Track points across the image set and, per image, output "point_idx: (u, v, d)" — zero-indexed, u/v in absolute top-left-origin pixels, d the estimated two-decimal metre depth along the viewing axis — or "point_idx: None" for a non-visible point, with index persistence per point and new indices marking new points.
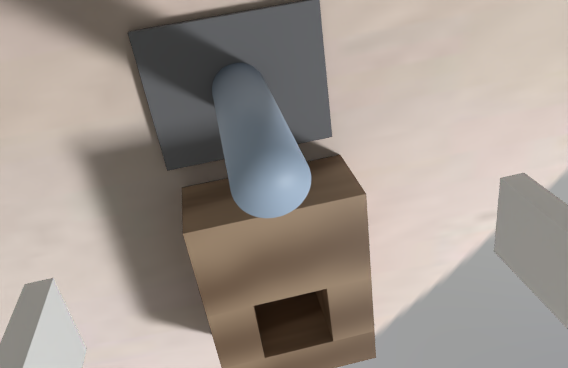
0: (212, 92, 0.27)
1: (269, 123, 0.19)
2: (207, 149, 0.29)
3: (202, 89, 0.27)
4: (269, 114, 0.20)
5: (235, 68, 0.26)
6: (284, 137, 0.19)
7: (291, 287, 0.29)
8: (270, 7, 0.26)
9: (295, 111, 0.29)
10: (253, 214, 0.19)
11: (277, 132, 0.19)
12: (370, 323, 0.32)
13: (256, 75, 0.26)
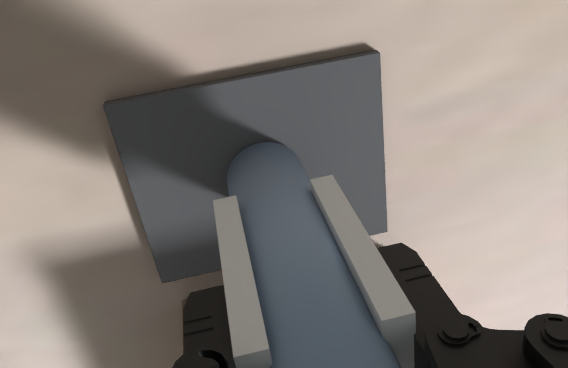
0: (227, 184, 0.19)
1: (336, 298, 0.11)
2: (217, 254, 0.21)
3: (211, 178, 0.19)
4: (330, 269, 0.12)
5: (261, 153, 0.18)
6: (368, 338, 0.10)
7: None
8: (310, 65, 0.18)
9: None
10: None
11: (353, 324, 0.10)
12: None
13: (293, 166, 0.17)
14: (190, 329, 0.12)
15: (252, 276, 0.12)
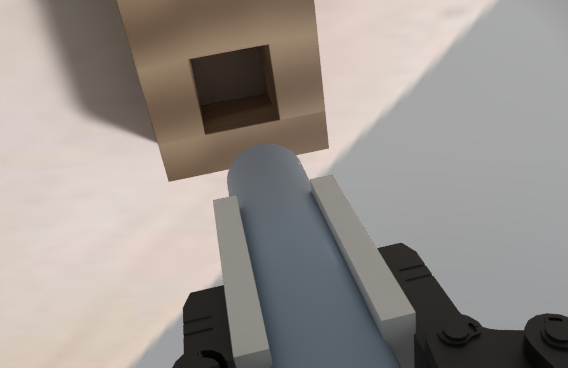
0: (228, 186, 0.19)
1: (337, 302, 0.11)
2: None
3: None
4: (331, 272, 0.12)
5: (262, 155, 0.18)
6: (369, 342, 0.10)
7: (229, 37, 0.27)
8: None
9: None
10: None
11: (354, 328, 0.10)
12: (320, 99, 0.29)
13: (294, 168, 0.17)
14: (190, 329, 0.12)
15: (252, 276, 0.12)
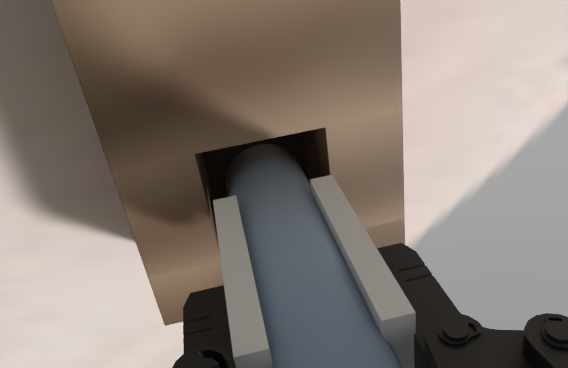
0: (227, 186, 0.19)
1: (337, 301, 0.11)
2: None
3: None
4: (331, 271, 0.12)
5: (261, 155, 0.18)
6: (370, 340, 0.10)
7: (262, 119, 0.16)
8: None
9: None
10: None
11: (355, 327, 0.10)
12: (398, 203, 0.19)
13: (293, 168, 0.17)
14: (190, 329, 0.12)
15: (252, 276, 0.12)
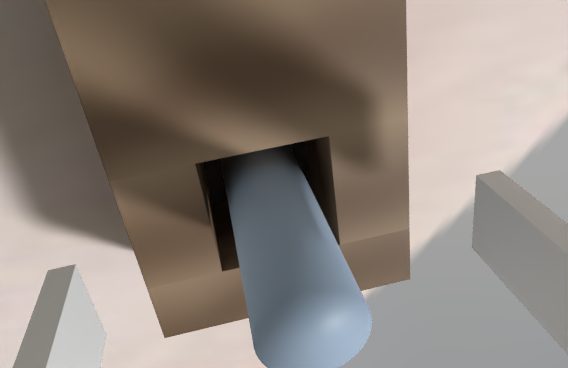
0: None
1: (306, 235, 0.13)
2: None
3: None
4: (304, 214, 0.14)
5: None
6: (331, 263, 0.13)
7: (264, 128, 0.16)
8: None
9: None
10: None
11: (320, 253, 0.13)
12: (403, 213, 0.19)
13: None
14: None
15: None
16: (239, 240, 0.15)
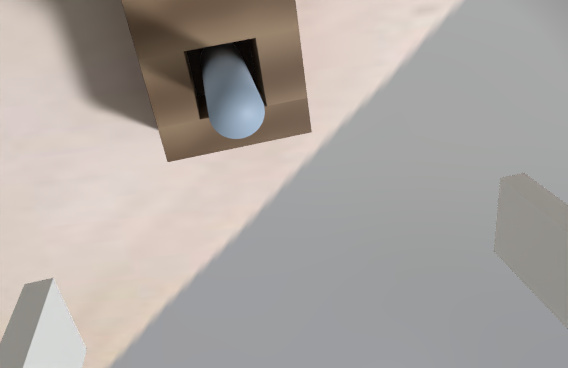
0: (200, 62, 0.35)
1: (236, 74, 0.28)
2: None
3: None
4: (238, 69, 0.29)
5: None
6: (245, 82, 0.27)
7: (220, 31, 0.30)
8: None
9: None
10: (225, 136, 0.27)
11: (241, 79, 0.27)
12: (302, 87, 0.33)
13: (232, 48, 0.34)
14: None
15: None
16: (205, 85, 0.29)
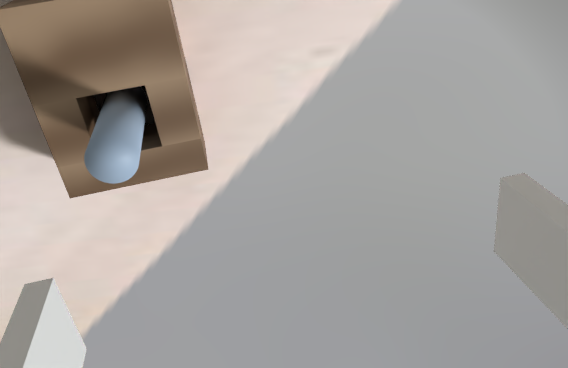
0: None
1: (116, 122, 0.30)
2: None
3: None
4: (121, 117, 0.31)
5: None
6: (121, 131, 0.29)
7: (109, 80, 0.32)
8: None
9: None
10: (103, 181, 0.29)
11: (118, 128, 0.29)
12: (195, 129, 0.35)
13: (133, 90, 0.36)
14: None
15: None
16: None
